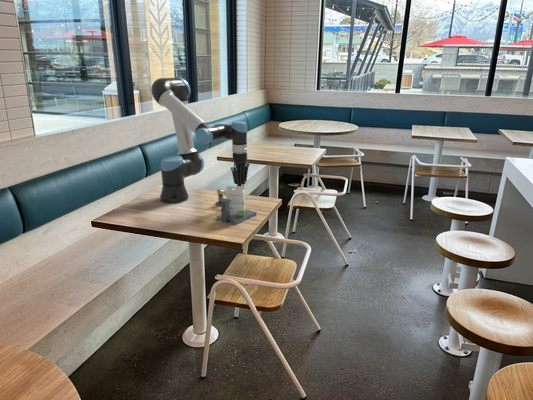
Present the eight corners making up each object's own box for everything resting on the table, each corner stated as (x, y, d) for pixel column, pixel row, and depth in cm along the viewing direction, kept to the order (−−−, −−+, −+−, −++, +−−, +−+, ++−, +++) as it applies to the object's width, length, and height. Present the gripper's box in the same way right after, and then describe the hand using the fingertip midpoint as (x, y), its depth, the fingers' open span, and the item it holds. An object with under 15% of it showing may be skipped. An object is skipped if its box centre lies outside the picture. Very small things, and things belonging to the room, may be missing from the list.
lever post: (212, 204, 215) (212, 194, 213) (220, 201, 219) (220, 192, 218) (221, 207, 211) (221, 196, 210) (228, 204, 216) (228, 194, 214)
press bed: (214, 220, 193) (213, 198, 189) (237, 210, 207) (237, 189, 203) (233, 225, 186) (232, 203, 183) (256, 214, 200) (256, 193, 197)
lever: (215, 194, 213) (215, 189, 212) (220, 193, 216) (220, 188, 215) (241, 200, 204) (241, 195, 203) (245, 198, 207) (245, 193, 206)
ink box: (245, 212, 199) (245, 183, 194) (244, 216, 194) (243, 186, 189) (228, 212, 200) (227, 183, 195) (226, 215, 195) (225, 186, 190)
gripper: (237, 155, 201) (238, 200, 208) (253, 151, 211) (253, 194, 218) (226, 153, 205) (227, 197, 212) (242, 149, 215) (242, 191, 222)
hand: (240, 195), depth 215 cm, fingers closed
